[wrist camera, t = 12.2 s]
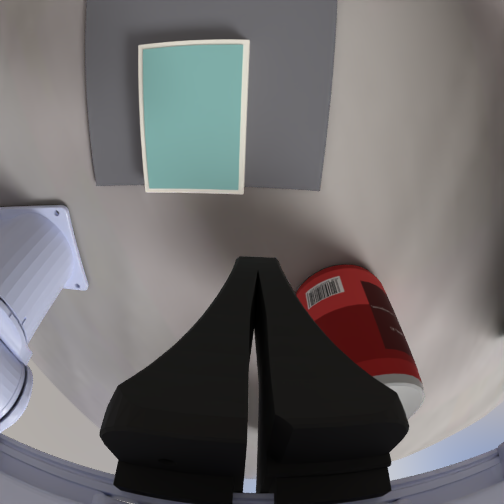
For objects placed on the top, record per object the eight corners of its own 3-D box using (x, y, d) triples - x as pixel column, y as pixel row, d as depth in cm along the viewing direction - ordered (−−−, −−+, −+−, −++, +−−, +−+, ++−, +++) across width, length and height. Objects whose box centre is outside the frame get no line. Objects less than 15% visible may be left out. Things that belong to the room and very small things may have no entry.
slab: (243, 195, 19) (145, 193, 19) (244, 185, 20) (152, 184, 20) (249, 39, 14) (137, 45, 14) (250, 41, 15) (146, 46, 15)
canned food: (277, 325, 27) (282, 442, 18) (311, 249, 23) (340, 378, 14) (354, 338, 28) (379, 443, 19) (397, 272, 24) (449, 383, 15)
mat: (98, 183, 20) (96, 185, 20) (90, -11, 12) (87, -12, 12) (318, 188, 20) (319, 191, 20) (336, -22, 13) (338, -24, 12)
